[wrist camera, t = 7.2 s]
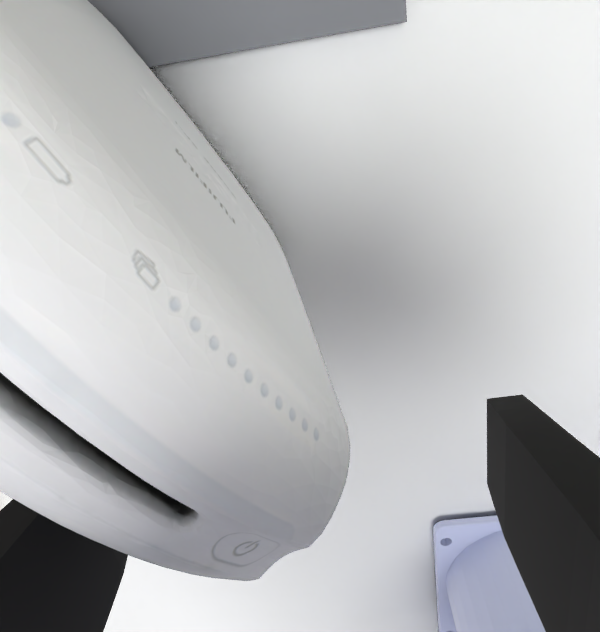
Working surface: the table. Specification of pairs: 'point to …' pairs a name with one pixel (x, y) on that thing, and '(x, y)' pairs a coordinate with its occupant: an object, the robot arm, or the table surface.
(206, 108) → the table surface
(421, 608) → the table surface
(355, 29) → the mat
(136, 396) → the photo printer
